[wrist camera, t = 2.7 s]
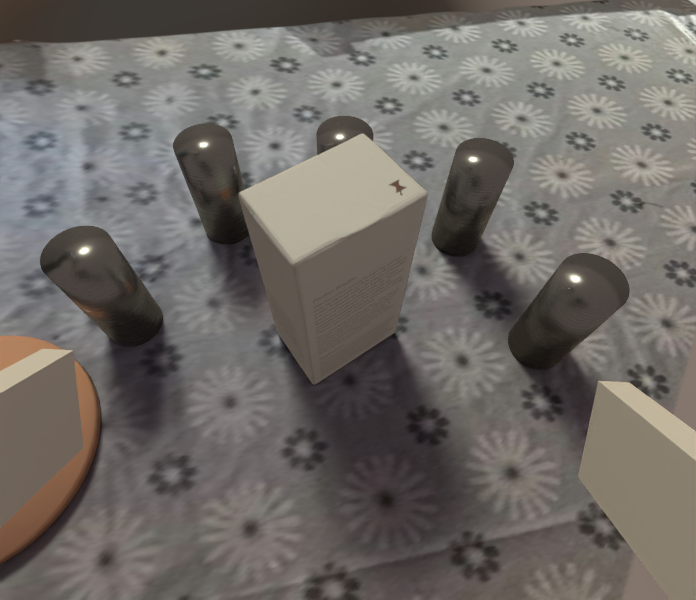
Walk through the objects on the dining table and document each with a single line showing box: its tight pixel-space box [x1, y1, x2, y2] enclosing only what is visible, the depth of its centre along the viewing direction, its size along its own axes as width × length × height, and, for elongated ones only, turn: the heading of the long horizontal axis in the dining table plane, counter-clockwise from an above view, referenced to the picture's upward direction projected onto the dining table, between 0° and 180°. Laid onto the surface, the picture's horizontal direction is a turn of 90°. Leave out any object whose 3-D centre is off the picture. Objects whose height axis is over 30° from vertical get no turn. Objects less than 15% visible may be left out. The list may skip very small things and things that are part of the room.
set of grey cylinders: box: [40, 116, 629, 370], centre depth 25 cm, size 21×24×7 cm
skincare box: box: [239, 134, 428, 385], centre depth 22 cm, size 6×4×12 cm
